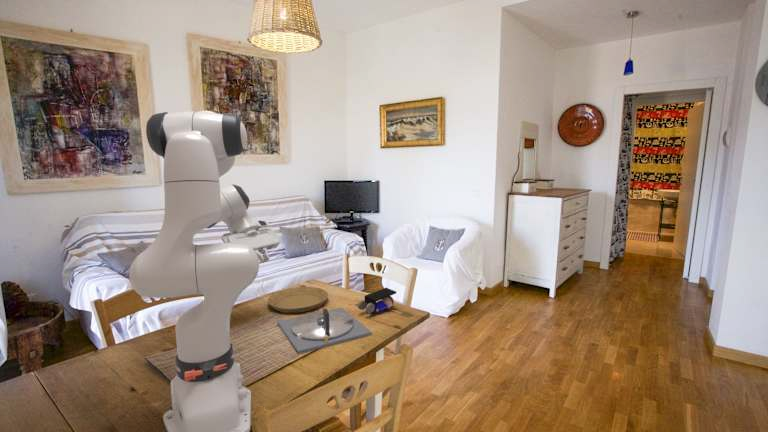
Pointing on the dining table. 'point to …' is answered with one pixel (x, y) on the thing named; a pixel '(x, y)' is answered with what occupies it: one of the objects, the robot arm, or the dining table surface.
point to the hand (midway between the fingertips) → (265, 260)
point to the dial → (322, 325)
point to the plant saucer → (298, 299)
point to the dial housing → (310, 345)
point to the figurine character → (375, 296)
